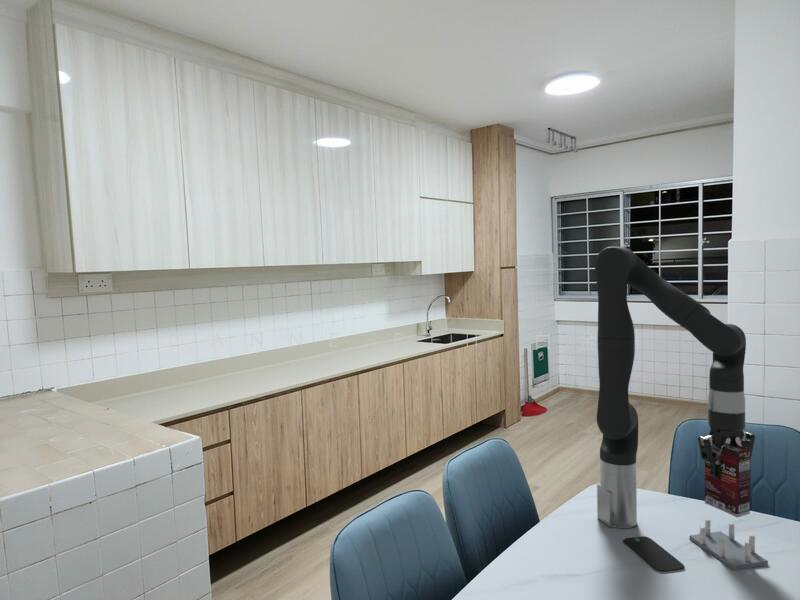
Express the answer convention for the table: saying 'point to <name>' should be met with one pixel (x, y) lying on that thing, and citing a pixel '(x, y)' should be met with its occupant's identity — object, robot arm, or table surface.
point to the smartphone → (653, 555)
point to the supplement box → (730, 482)
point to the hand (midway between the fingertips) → (726, 476)
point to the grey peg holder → (728, 547)
